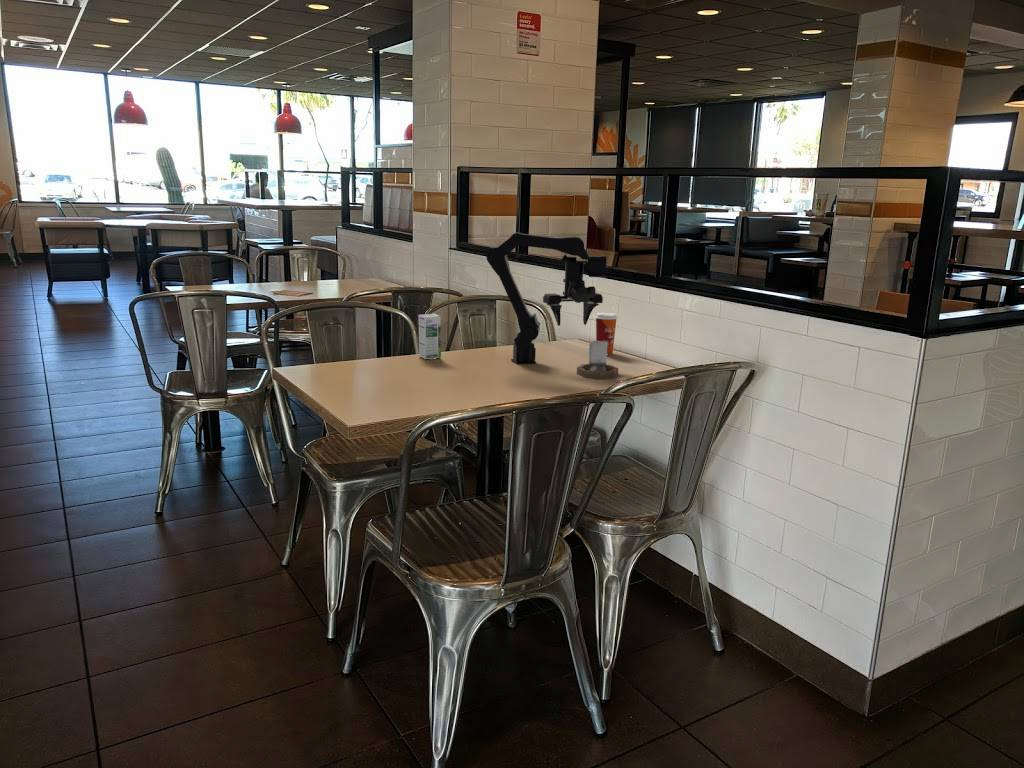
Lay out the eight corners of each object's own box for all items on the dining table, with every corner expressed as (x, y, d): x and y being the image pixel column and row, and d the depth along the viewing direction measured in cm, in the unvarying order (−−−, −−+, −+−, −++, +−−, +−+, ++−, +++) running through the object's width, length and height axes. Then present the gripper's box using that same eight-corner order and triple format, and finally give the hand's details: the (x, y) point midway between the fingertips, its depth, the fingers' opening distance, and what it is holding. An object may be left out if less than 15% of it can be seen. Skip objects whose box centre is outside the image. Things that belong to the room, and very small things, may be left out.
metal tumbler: (589, 376, 235) (590, 344, 232) (587, 371, 240) (588, 340, 237) (607, 376, 235) (608, 344, 232) (604, 372, 240) (606, 340, 238)
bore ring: (588, 379, 230) (588, 373, 229) (571, 371, 241) (572, 364, 240) (623, 377, 234) (624, 370, 233) (605, 368, 245) (605, 362, 244)
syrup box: (425, 360, 251) (424, 316, 247) (418, 356, 256) (418, 313, 252) (441, 359, 253) (441, 315, 250) (434, 355, 258) (434, 313, 255)
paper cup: (608, 356, 263) (610, 316, 260) (589, 353, 268) (591, 313, 264) (619, 353, 269) (621, 313, 266) (600, 350, 274) (602, 311, 270)
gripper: (556, 279, 233) (555, 330, 237) (611, 278, 239) (609, 328, 243) (543, 276, 243) (541, 324, 247) (596, 275, 249) (593, 322, 253)
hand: (571, 325), depth 247 cm, fingers open, 9 cm apart
